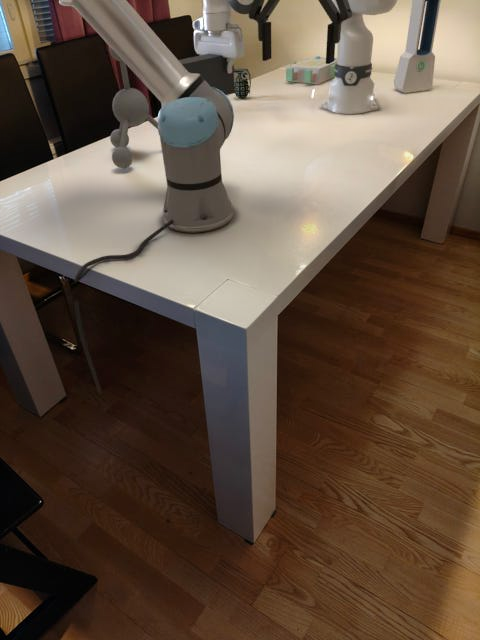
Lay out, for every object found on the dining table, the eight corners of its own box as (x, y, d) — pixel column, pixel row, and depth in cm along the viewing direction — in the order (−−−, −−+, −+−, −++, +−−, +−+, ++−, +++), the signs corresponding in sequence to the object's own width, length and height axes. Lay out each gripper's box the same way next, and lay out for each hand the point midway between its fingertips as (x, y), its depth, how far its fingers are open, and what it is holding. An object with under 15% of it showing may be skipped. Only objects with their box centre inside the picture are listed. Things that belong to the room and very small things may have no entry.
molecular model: (194, 159, 136) (181, 36, 117) (116, 174, 130) (89, 47, 112) (172, 136, 153) (158, 26, 135) (102, 148, 148) (77, 35, 129)
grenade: (232, 99, 186) (230, 70, 180) (236, 95, 190) (234, 67, 184) (249, 99, 184) (248, 70, 178) (252, 96, 189) (251, 67, 182)
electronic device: (402, 93, 181) (416, -3, 162) (392, 89, 186) (404, -5, 168) (432, 89, 183) (449, -6, 165) (421, 85, 189) (436, -8, 170)
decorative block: (308, 54, 216) (349, 57, 207) (307, 70, 220) (348, 74, 211) (277, 65, 200) (320, 69, 191) (277, 82, 204) (319, 87, 195)
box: (182, 107, 151) (177, 65, 144) (169, 104, 155) (164, 63, 148) (234, 92, 164) (233, 53, 157) (221, 90, 168) (219, 51, 161)
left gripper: (377, -81, 82) (364, 60, 95) (247, -71, 92) (250, 54, 105) (364, -81, 77) (352, 67, 90) (227, -71, 87) (234, 61, 100)
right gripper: (248, 23, 148) (249, 73, 156) (203, 20, 160) (206, 66, 168) (233, 25, 144) (236, 77, 153) (188, 22, 156) (193, 70, 164)
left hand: (297, 61), depth 97 cm, fingers open, 13 cm apart
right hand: (220, 71), depth 160 cm, fingers closed on box, 6 cm apart
